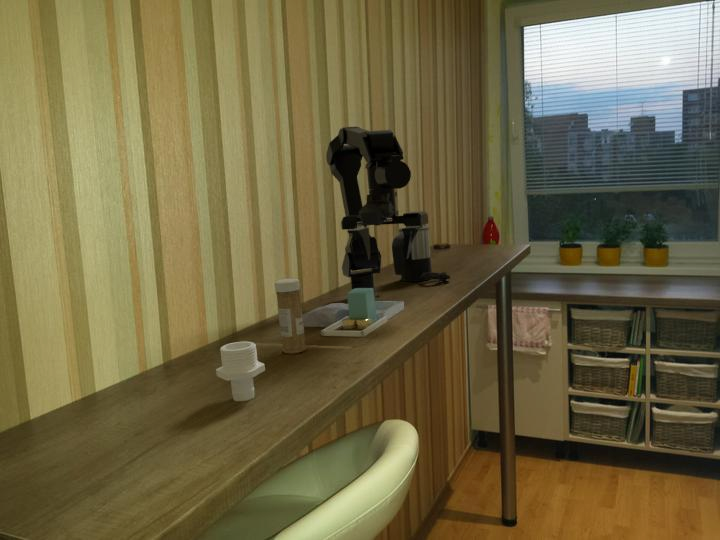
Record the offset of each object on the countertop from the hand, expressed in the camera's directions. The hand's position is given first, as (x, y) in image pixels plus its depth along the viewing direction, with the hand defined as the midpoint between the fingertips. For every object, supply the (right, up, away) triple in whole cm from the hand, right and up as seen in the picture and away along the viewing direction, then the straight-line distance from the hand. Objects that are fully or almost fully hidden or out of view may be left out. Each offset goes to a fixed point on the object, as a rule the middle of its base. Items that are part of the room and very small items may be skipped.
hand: (387, 259), depth 145 cm
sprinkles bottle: (-18, -18, -24) cm, 35 cm away
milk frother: (+12, -6, +38) cm, 40 cm away
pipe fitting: (-23, -22, -48) cm, 57 cm away
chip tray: (-7, -15, -12) cm, 20 cm away
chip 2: (-5, -14, -13) cm, 20 cm away
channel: (-2, -13, -2) cm, 13 cm away
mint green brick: (-5, -14, -9) cm, 17 cm away
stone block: (-13, -14, -3) cm, 20 cm away
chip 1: (-8, -14, -11) cm, 20 cm away
